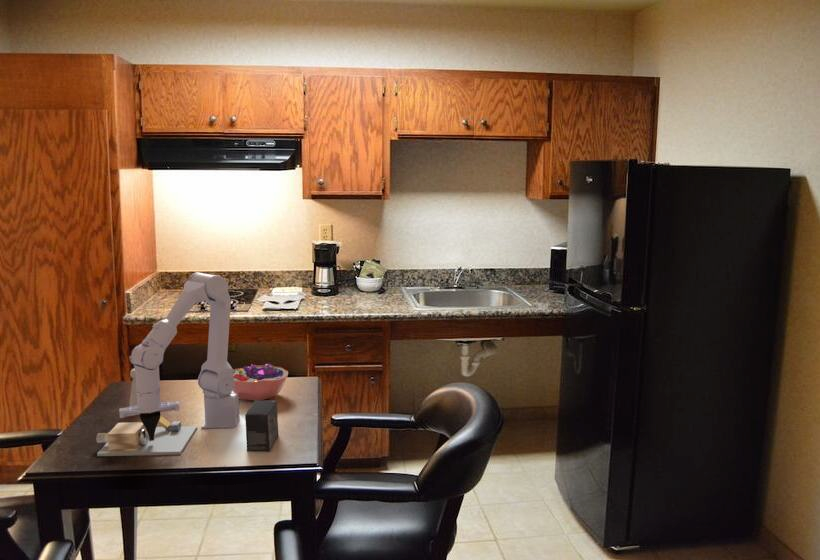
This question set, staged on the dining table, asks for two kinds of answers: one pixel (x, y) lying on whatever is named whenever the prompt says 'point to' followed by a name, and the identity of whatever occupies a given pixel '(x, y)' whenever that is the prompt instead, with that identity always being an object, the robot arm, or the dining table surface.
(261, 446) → the small box
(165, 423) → the tab
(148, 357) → the robot arm
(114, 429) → the block
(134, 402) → the salt shaker
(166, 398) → the dining table surface
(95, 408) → the dining table surface
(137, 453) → the board
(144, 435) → the pin
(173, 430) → the block
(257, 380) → the cell model
